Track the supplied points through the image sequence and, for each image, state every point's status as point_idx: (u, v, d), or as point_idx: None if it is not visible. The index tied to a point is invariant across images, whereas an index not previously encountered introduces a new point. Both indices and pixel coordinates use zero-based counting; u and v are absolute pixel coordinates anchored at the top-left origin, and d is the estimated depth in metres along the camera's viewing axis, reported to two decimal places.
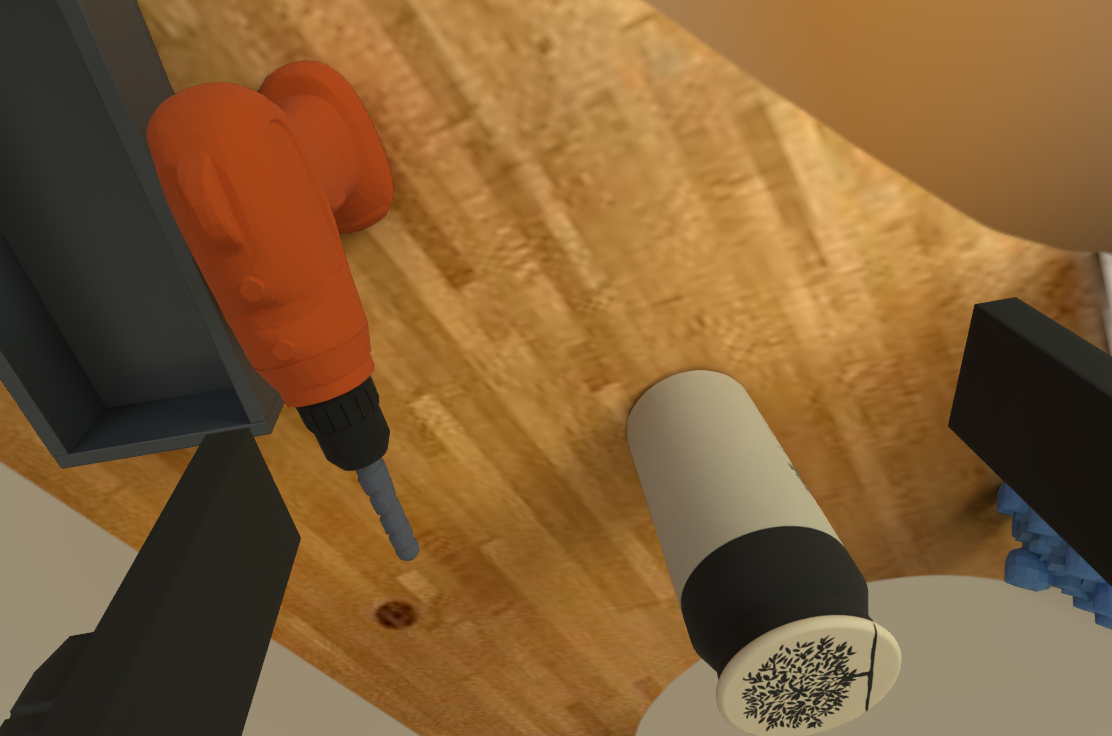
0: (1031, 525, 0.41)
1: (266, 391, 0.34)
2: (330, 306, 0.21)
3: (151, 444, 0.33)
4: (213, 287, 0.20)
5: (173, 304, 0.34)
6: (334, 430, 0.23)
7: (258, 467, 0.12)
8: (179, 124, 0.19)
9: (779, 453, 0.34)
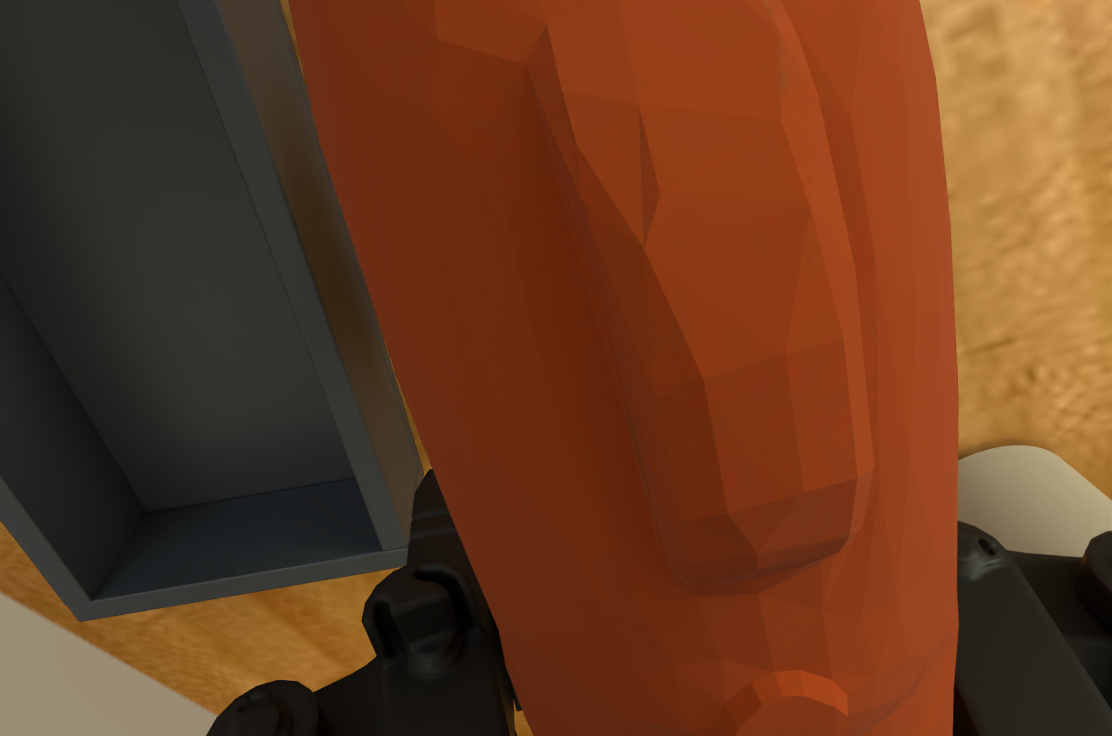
0: None
1: (404, 495, 0.21)
2: (951, 678, 0.05)
3: (224, 584, 0.21)
4: (544, 659, 0.04)
5: (257, 358, 0.21)
6: None
7: None
8: None
9: None
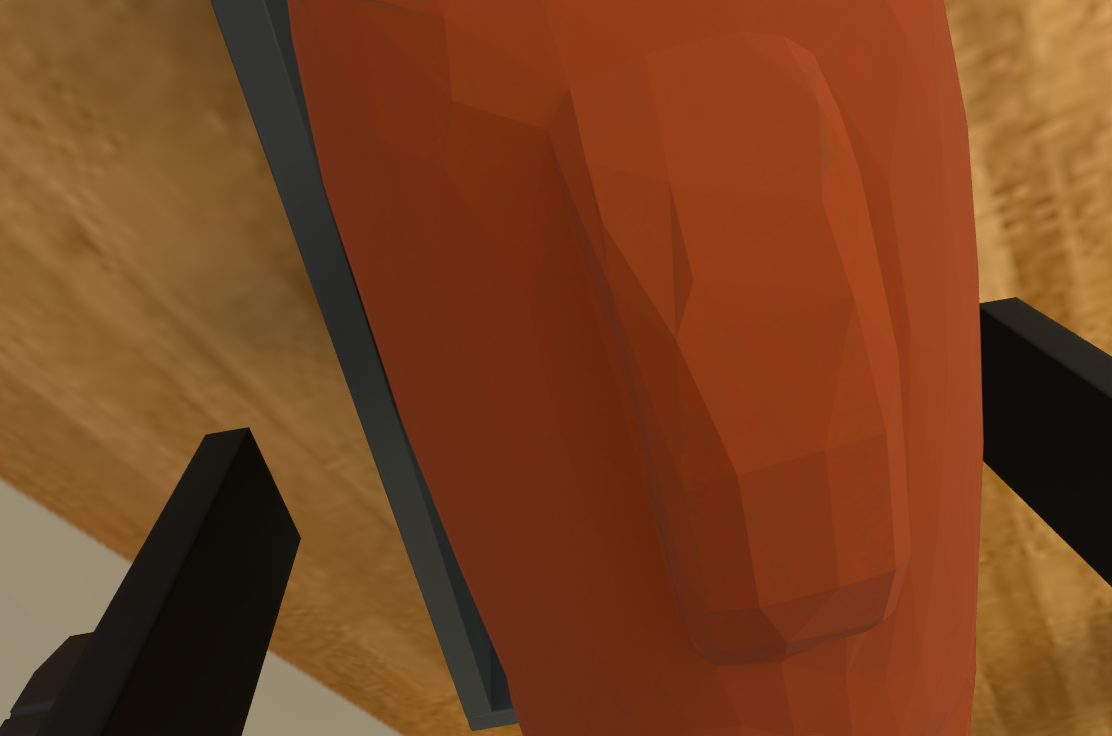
0: None
1: None
2: (968, 721, 0.05)
3: None
4: (554, 712, 0.04)
5: None
6: None
7: (258, 467, 0.12)
8: None
9: None
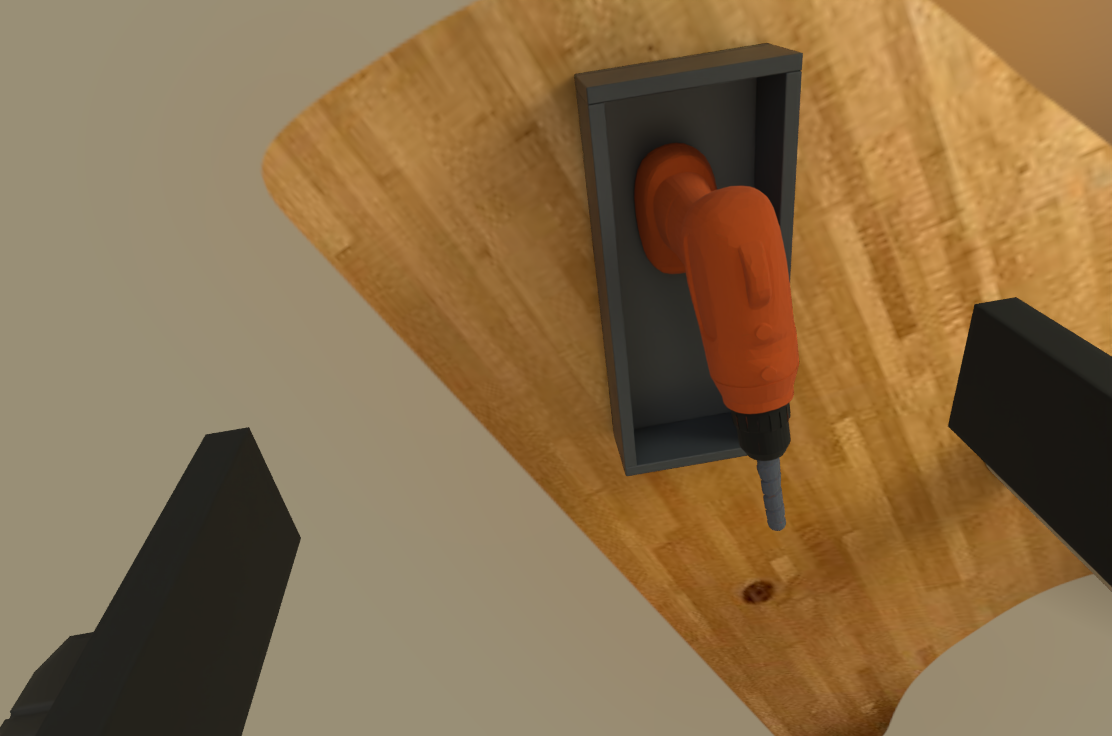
0: None
1: None
2: (794, 342, 0.30)
3: (696, 458, 0.45)
4: (726, 329, 0.29)
5: None
6: (769, 431, 0.31)
7: (259, 467, 0.12)
8: (739, 219, 0.27)
9: None
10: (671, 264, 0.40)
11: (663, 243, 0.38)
